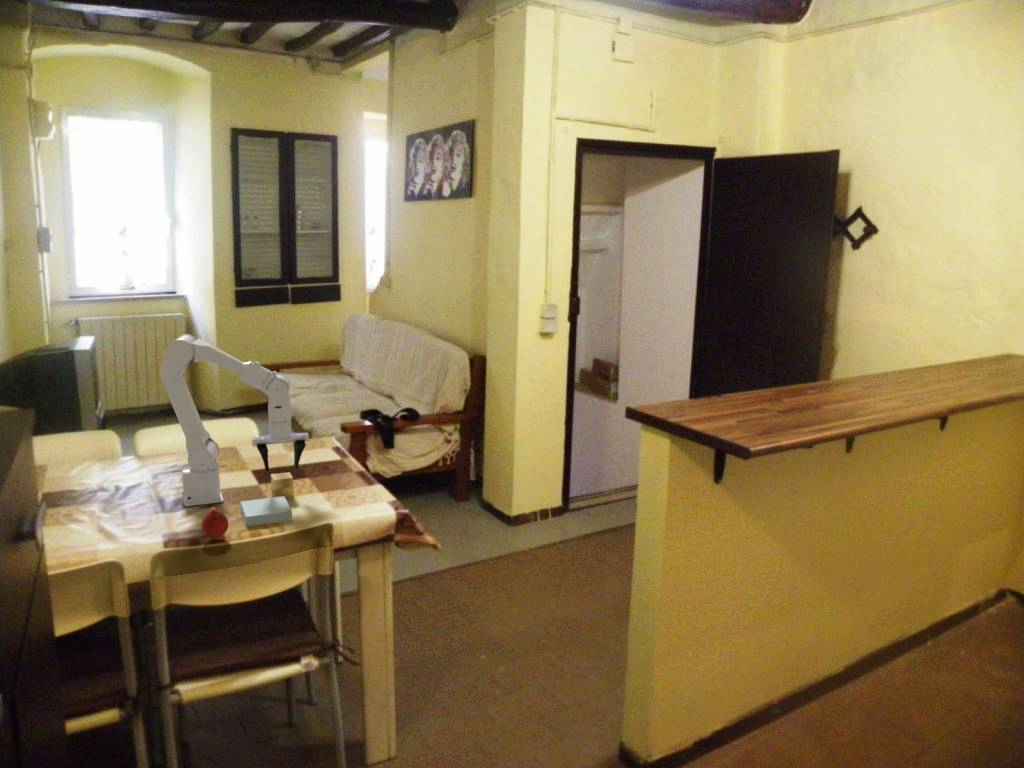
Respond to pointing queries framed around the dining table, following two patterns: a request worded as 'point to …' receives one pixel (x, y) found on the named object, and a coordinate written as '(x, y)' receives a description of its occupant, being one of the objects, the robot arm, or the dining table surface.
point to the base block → (266, 511)
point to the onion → (214, 524)
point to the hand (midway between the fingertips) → (281, 468)
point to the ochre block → (282, 485)
